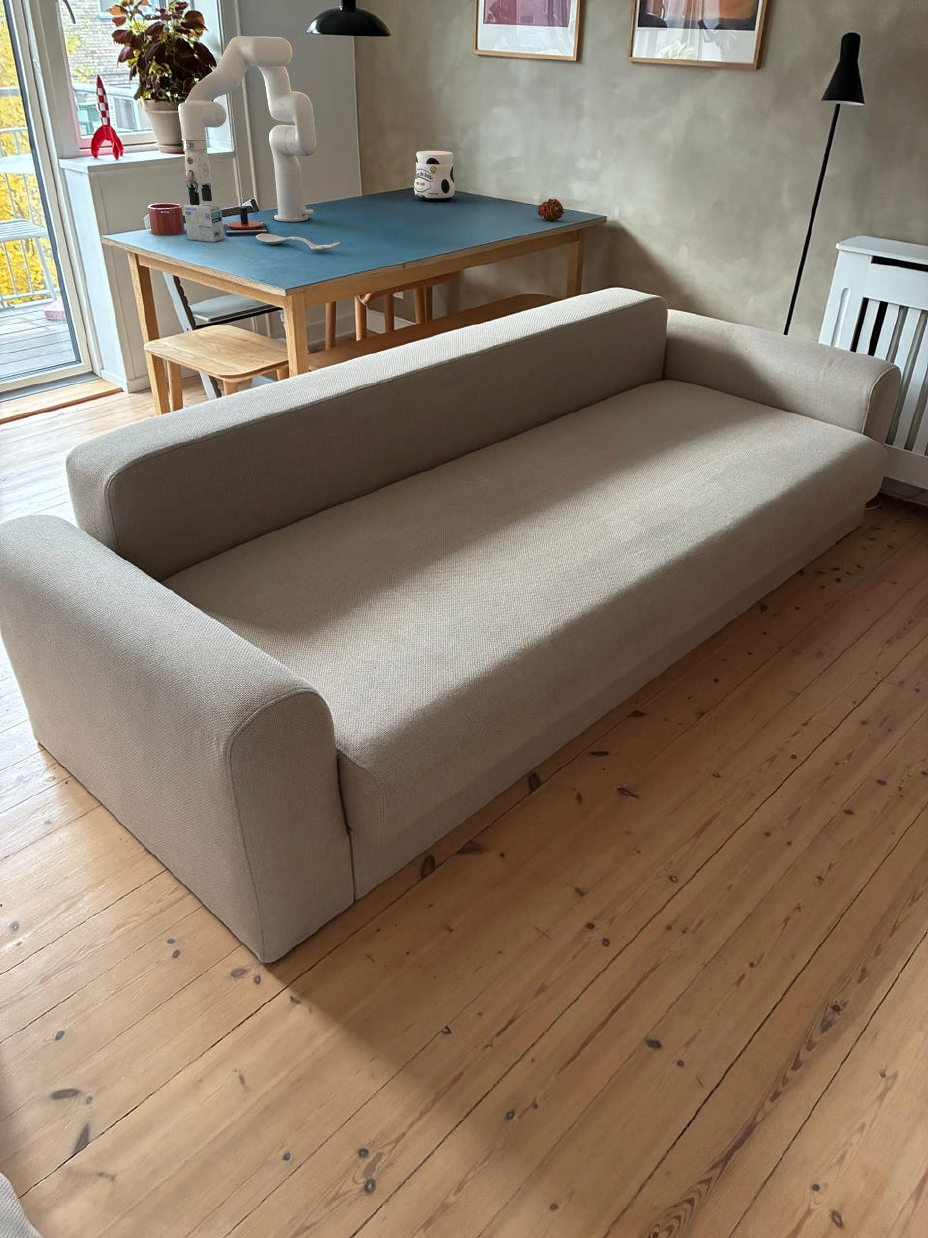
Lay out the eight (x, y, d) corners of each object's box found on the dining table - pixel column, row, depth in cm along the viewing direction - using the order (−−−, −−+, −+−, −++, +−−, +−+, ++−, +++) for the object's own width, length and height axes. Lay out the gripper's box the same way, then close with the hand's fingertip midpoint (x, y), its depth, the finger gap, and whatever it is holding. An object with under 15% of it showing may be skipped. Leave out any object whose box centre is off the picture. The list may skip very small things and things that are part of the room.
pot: (184, 227, 339) (181, 201, 335) (185, 236, 326) (181, 209, 321) (152, 228, 337) (148, 202, 332) (151, 237, 323) (147, 210, 319)
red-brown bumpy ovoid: (561, 227, 361) (538, 227, 369) (572, 211, 363) (549, 212, 371) (551, 209, 355) (528, 210, 363) (563, 193, 357) (540, 194, 365)
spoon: (323, 256, 302) (322, 245, 300) (251, 243, 317) (250, 232, 315) (341, 252, 308) (341, 240, 306) (270, 239, 323) (269, 228, 321)
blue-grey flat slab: (263, 224, 347) (263, 221, 346) (267, 234, 330) (267, 231, 330) (224, 225, 344) (223, 222, 343) (226, 235, 327) (226, 232, 327)
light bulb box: (225, 238, 323) (221, 204, 317) (214, 242, 318) (210, 207, 312) (198, 236, 326) (193, 202, 320) (187, 239, 320) (182, 205, 315)
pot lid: (261, 223, 343) (259, 203, 339) (263, 229, 333) (261, 209, 329) (226, 224, 340) (224, 204, 336) (228, 230, 330) (226, 210, 326)
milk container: (410, 201, 396) (409, 154, 387) (418, 195, 411) (418, 149, 401) (450, 203, 394) (451, 155, 384) (458, 197, 408) (458, 151, 399)
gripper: (194, 148, 299) (201, 207, 308) (216, 143, 313) (222, 199, 322) (172, 147, 300) (179, 206, 309) (195, 142, 314) (201, 198, 323)
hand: (201, 202), depth 315 cm, fingers open, 9 cm apart
